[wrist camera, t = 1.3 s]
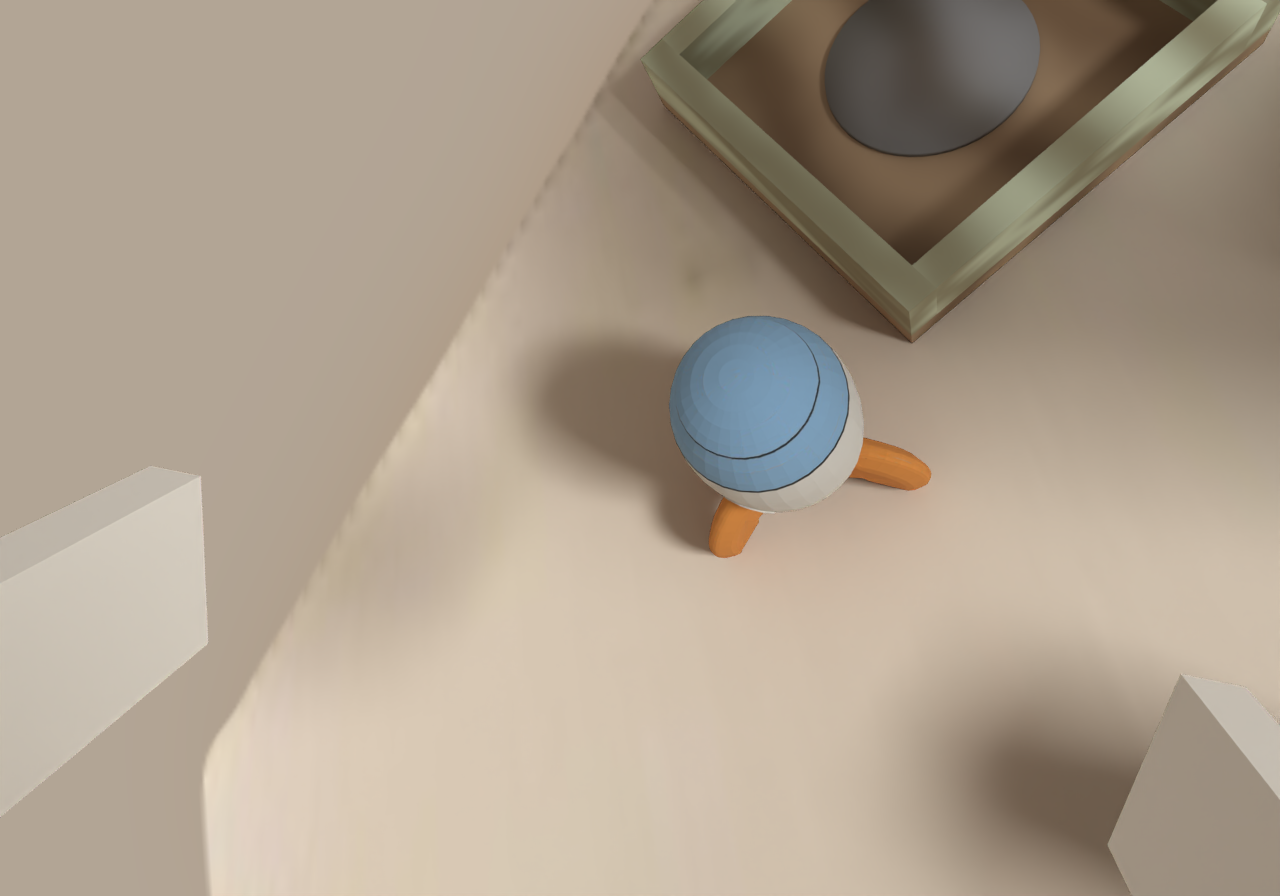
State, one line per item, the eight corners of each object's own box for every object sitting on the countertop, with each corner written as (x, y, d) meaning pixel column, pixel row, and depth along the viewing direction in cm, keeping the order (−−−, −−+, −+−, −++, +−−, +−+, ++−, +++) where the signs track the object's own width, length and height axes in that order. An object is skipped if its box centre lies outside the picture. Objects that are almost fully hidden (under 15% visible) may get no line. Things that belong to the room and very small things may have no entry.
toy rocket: (746, 600, 40) (571, 520, 28) (701, 413, 45) (536, 277, 33) (958, 530, 36) (859, 402, 24) (883, 334, 41) (770, 147, 29)
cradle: (942, -155, 45) (942, -227, 41) (1262, 43, 37) (1298, -24, 33) (664, 105, 47) (640, 59, 43) (911, 343, 39) (909, 311, 36)
